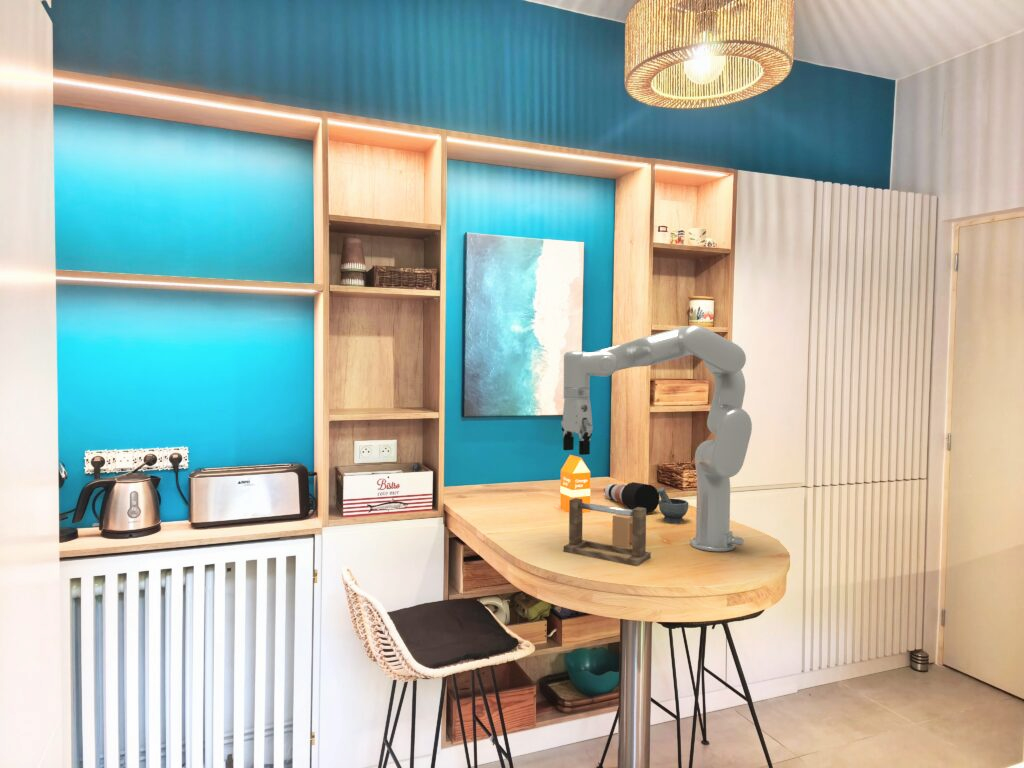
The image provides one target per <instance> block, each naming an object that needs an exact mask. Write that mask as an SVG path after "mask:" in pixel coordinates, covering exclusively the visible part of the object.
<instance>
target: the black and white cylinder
mask: <svg viewBox="0 0 1024 768" xmlns="http://www.w3.org/2000/svg"><path fill="white" fill-rule="evenodd" d="M657 490H658V488H656V487H655V486H653V485H651V484H646V483H641V482H640V483H639V482H635V481H633V482H629V483H627V484H615V483H609V484H607V485H606V486H605V487H604V488H603V493H604V495H605V497H606V498H607V499H609V500H612V501H615V502H617V503H620V504H623V505H624V506H625V508H626V509H630V510H633V509H635V508H637V507H641V508H646V514H649V513H652V512H654V511H655V510H656V509H657V508H658V507H659V500H661V497H660V495H659V494H658V492H657Z"/></svg>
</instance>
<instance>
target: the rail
mask: <svg viewBox="0 0 1024 768" xmlns="http://www.w3.org/2000/svg"><path fill="white" fill-rule="evenodd" d="M578 508H581V509H587V510H590V511H595V512H599V513H600V512H602V513H609V514H614V515H616V514H619V515H626V516H632V517H633V510H631V509H629V508H622V507H615V506H608V505H602V504H596V503H595V504H594V503H590V504H589V503H583V502H579V503H578Z"/></svg>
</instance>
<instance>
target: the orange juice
mask: <svg viewBox="0 0 1024 768" xmlns="http://www.w3.org/2000/svg"><path fill="white" fill-rule="evenodd" d="M559 492H560V510H562V511H565V512H567V513H569V500H571V499H574V498H579V499H583V503H589V504H591V470H590V469H589V468H588V466H587V465H586V463H585V462H584V460H583V458H582V457H580V456H576V455H572V454H569V456H568V457H567V459H566V460H565V463H564V464H563V466H562V468H561V469H560V491H559ZM590 512H591V510H587V509H582V514H583V513H584V514H585V513H590Z"/></svg>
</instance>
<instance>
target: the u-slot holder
mask: <svg viewBox="0 0 1024 768" xmlns="http://www.w3.org/2000/svg"><path fill="white" fill-rule="evenodd" d="M632 522H633V517H632V516H626V515H619V514H614V515H612V531H611V532H612V533H611V534H612V543H611V544H612V545H613V546H618V547H624V548H629V549H630V545H632Z"/></svg>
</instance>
